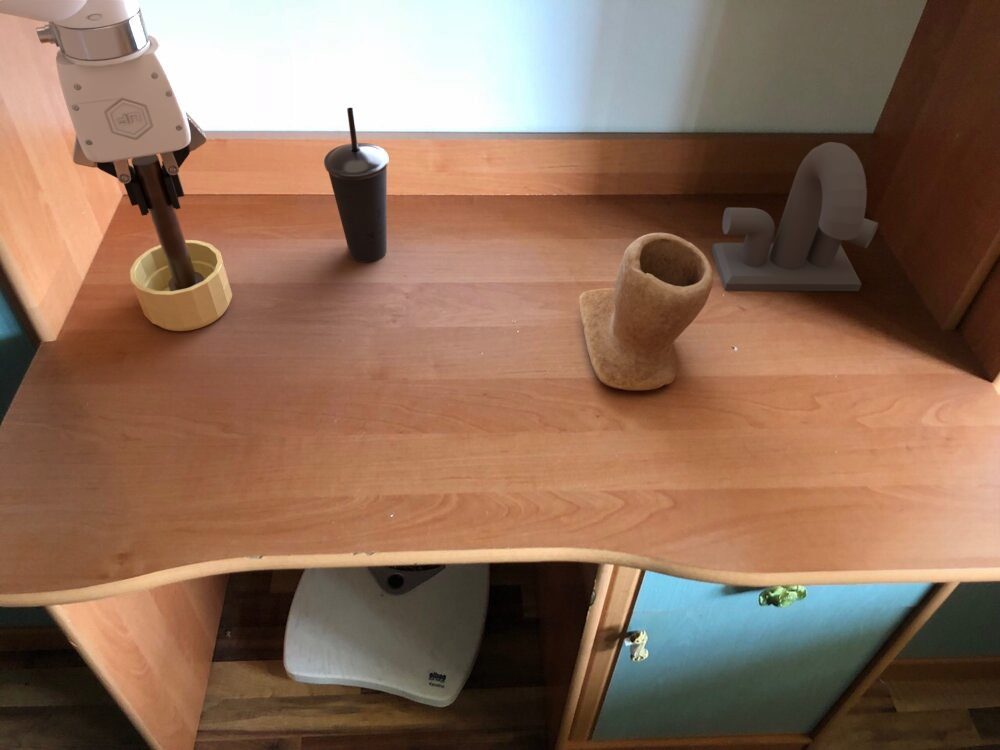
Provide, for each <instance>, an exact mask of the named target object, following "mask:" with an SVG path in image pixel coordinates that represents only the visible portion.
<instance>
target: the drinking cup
mask: <svg viewBox="0 0 1000 750" xmlns="http://www.w3.org/2000/svg"><path fill="white" fill-rule="evenodd" d="M346 112H347V120H348V127H349V136H350V143H346V144H342V145H339V146H337V147H335V148H333V149H331V150H329V152H328V153H327V154H326V155H325V157H324V159H323V160H324V161H323V165H324V168H325V170H326V171H327V172H328V176H329V180H330V184H331V187H332V191H333V195H334V199H335V203H336V206H337V210H338V214H339V218H340V222H341V226H342V229H343V233H344V237H345V240H346V244H347V248H348V249H347V250H348V253H349V256H350V258H352V259H353V260H355V261H357V262H360V263H373V262H377V261H379V260H381V259H382V258H384V256H386V254H387V240H388V239H387V236H388V235H387V230H388V229H387V227H388V226H387V224H388V223H387V222H388V221H387V219H388V217H387V212H388V211H387V210H388V209H387V204H388V203H387V201H388V198H387V195H388V194H387V193H388V192H387V190H388V189H387V187H388V185H387V182H388V181H387V179H388V177H387V176H388V166H389V163H390V159H389V154H388V153H387V151H386V150H385V149H384V148H383V147H380V146H378V145H377V144H376V145H375V144H372V143H366V142H358V137H357V129H356V123H355V121H356V120H355V114H354V108H353V107H348V108H347V109H346Z"/></svg>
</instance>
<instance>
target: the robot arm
mask: <svg viewBox="0 0 1000 750" xmlns="http://www.w3.org/2000/svg"><path fill="white" fill-rule="evenodd" d="M142 13H143V12H142V10H141V6H140V3H139V1H138V0H0V14H4V15H8V16H13V17H18V18H23V19H28V20H33V21H37V22H43V23H47V24H44V26H39V27H35V32H36V35H37V37H38V40H39V43H40V44H49V43H50V45H54V44H55V46H56V47H57V48H58V47H59V49H58V51H57V52H56V56H55V63H56V70H57V75H58V79H59V83H60V88H61V92H62V94H63V98H64V102H65V105H66V109H67V111H68V114H69V117H70V121H71V123H72V125H73V129H74V132H75V136H74V137H75V138H74V143H73V150H72V161H73V163H74V164H75V165H78V166H84V167H88V168H96V169H99V170H100V171H101V172H103V173H106V174H108V175H110V176H112V177H114V178H116V179H118V181H119V182H120V184H123V185H124V188H125V191H126V193H127V196H128V199H129V202H130V204H131V206H133V207H135V206H138V208H139V212H140V214H141V217H142V216H143V217H144V216H147V215H148V214H150V213H149V210H148V207H147V204H146V201H145V198H144V195H143V192H142V189H141V187H140V184H139V181H138V178H137V176H136V173H135V170H134V167H133V165H130V163H129V160H132V159H133V158H137V157H143V156H149V155H155V154H156V155H160V158H161V168H162V171H163V177H164V181H165V184H166V187H167V190H168V193H169V196H170V199H171V203H172V206H173V208H175V210H180V209H181V208H182V207H181V203H180V198H183V197H185V192H184V188H183V185H182V181H181V179H180V175H179V173H180V168H181V166H182V165H183V164H184V163H185V161H186V160H187V158H188V156H189V155H190V153H192V152H194V151H196V150H197V149H198V148H200V147H201V146H203V145H204V144H205V143H207V135H206V133H205V131H204V130H203V129H202V128H201V127H200V126H199V124H197V122H196V121H195V120H194V119H193V118H192V117H191V116H190V114H189V113H188V112H187V111H186V109H185V106H184V103H183V100H182V97H181V94H180V91H179V88H178V85H177V83H176V79H175V77H174V75H173V72H172V69H171V67H170V64H169V62H168V60H167V58H166V56H165V54H164V51H163V49H162V48H161V47H160V44H159V42H158V41H157V39H156V38H155V37H154V36H152V35H150V34H149V33H148V31H147V27H146V24H145V21H144V17H143V14H142Z"/></svg>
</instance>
